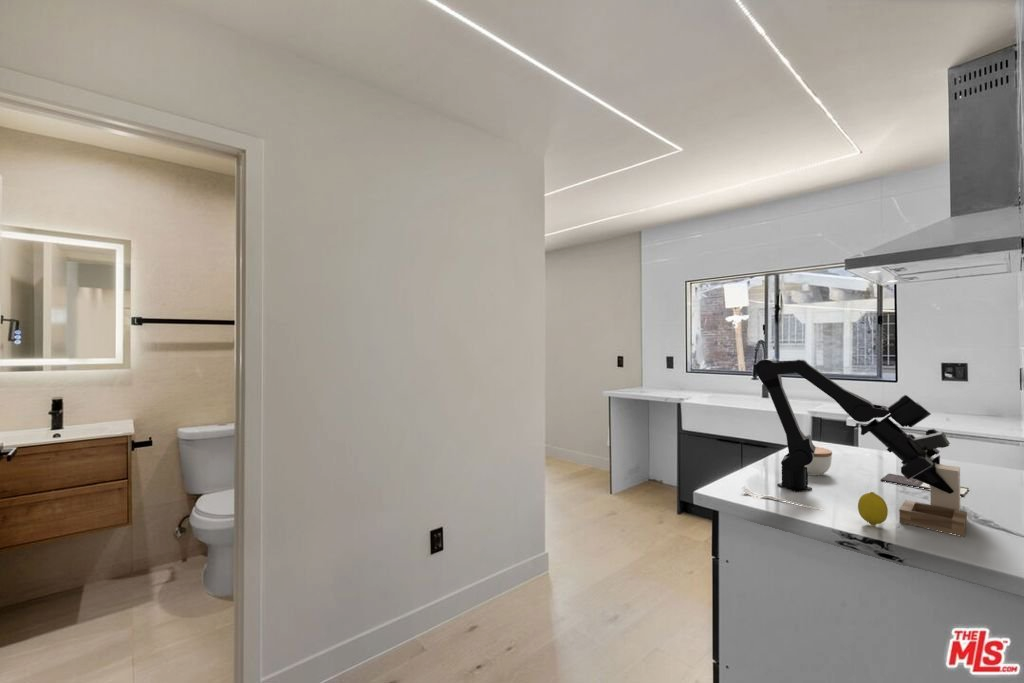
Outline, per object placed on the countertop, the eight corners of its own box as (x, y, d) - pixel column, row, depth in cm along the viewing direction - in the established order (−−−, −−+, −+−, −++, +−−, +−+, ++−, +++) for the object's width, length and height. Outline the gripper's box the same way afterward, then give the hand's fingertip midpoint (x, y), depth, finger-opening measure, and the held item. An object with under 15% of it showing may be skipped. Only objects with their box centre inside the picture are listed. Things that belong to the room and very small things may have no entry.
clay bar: (959, 520, 108) (958, 471, 108) (930, 515, 112) (930, 467, 112) (960, 515, 112) (960, 467, 111) (933, 509, 115) (932, 463, 115)
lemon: (879, 532, 103) (879, 497, 103) (852, 523, 108) (852, 490, 108) (893, 527, 105) (892, 493, 105) (866, 519, 110) (866, 486, 110)
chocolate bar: (888, 473, 143) (968, 488, 129) (888, 476, 143) (968, 491, 129) (880, 479, 138) (962, 495, 123) (880, 482, 138) (962, 498, 123)
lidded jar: (785, 471, 150) (785, 443, 149) (806, 466, 154) (805, 439, 154) (819, 480, 140) (818, 450, 140) (839, 475, 144) (839, 446, 144)
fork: (822, 515, 115) (823, 508, 115) (740, 494, 129) (740, 488, 129) (825, 511, 117) (825, 504, 117) (744, 492, 131) (744, 485, 131)
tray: (964, 537, 100) (964, 522, 100) (899, 522, 108) (899, 509, 108) (967, 525, 106) (966, 511, 106) (905, 512, 114) (905, 499, 114)
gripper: (918, 425, 108) (985, 480, 100) (927, 415, 121) (987, 464, 113) (877, 451, 114) (936, 506, 106) (890, 439, 127) (944, 487, 118)
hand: (953, 490), depth 111 cm, fingers open, 5 cm apart
